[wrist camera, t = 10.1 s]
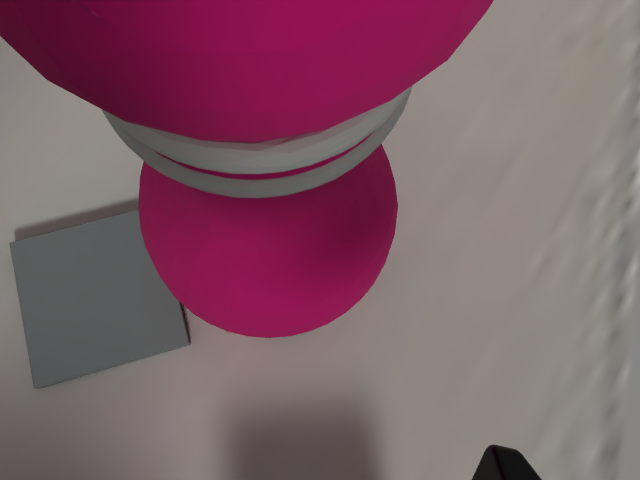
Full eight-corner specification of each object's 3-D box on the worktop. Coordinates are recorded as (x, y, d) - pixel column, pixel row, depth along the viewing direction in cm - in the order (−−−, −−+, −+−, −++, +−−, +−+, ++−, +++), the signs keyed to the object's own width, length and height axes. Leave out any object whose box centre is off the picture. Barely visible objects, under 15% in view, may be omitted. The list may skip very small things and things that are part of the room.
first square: (39, 388, 20) (34, 388, 19) (14, 245, 21) (9, 242, 20) (190, 344, 20) (188, 343, 20) (158, 208, 21) (155, 204, 21)
